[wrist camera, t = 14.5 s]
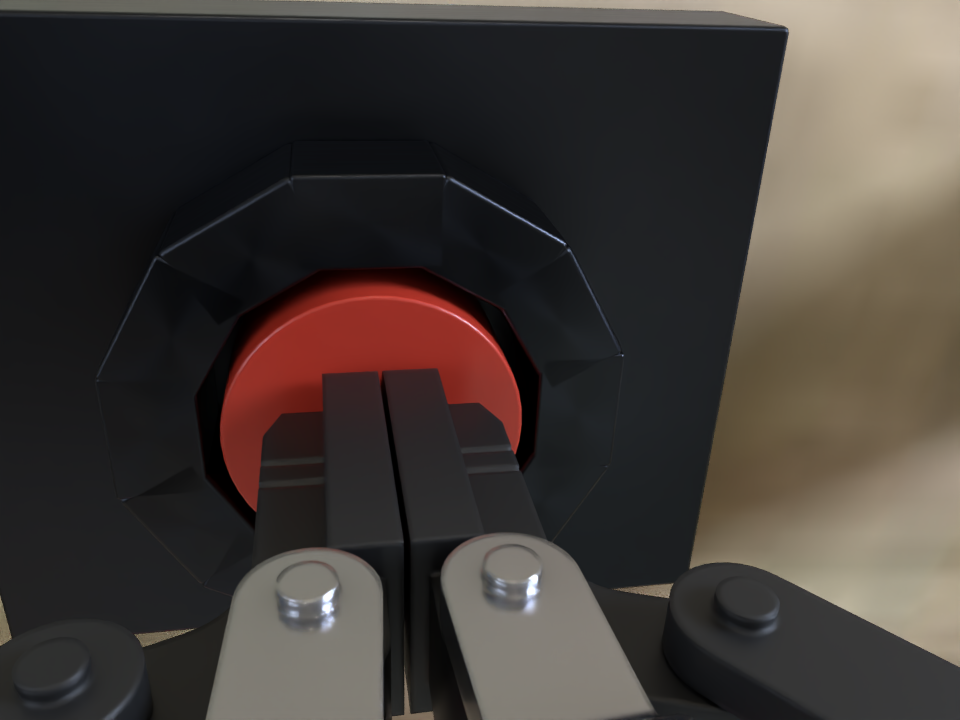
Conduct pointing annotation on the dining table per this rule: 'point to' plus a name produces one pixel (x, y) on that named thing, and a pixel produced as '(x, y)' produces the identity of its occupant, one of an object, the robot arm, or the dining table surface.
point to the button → (356, 353)
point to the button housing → (358, 258)
